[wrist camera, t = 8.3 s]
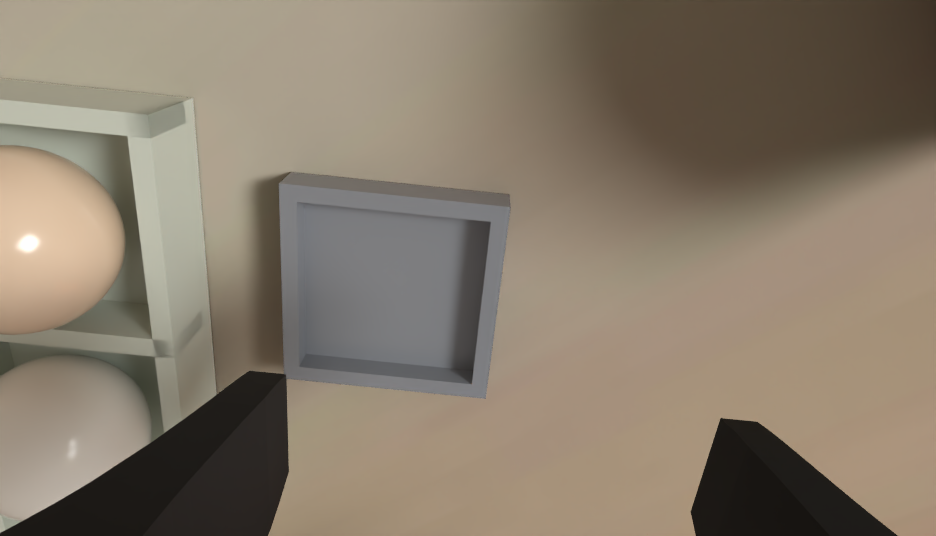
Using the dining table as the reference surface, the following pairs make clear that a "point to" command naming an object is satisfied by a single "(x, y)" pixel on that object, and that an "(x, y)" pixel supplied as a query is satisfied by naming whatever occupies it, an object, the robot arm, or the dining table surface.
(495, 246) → the dish
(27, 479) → the white egg
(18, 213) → the brown egg
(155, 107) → the egg tray
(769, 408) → the dining table surface
